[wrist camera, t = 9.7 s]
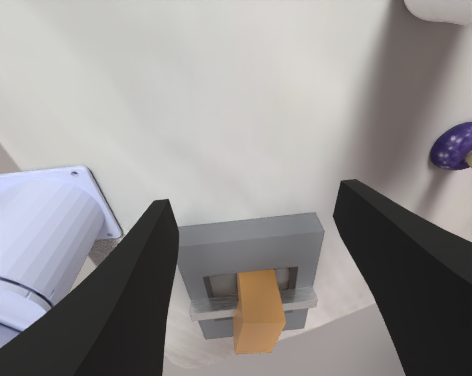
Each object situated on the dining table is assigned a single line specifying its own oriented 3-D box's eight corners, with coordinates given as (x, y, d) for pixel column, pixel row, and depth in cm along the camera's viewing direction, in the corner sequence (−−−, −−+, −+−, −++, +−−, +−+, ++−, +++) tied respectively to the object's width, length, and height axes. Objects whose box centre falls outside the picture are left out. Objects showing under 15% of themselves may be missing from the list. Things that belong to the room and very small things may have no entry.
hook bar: (193, 307, 28) (192, 321, 27) (190, 300, 27) (189, 314, 26) (311, 293, 28) (315, 307, 27) (312, 286, 28) (317, 299, 26)
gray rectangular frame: (205, 320, 36) (205, 339, 34) (174, 227, 24) (171, 247, 22) (299, 310, 36) (304, 328, 34) (315, 212, 24) (324, 231, 22)
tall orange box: (231, 299, 31) (234, 353, 26) (238, 266, 27) (243, 323, 22) (262, 299, 31) (270, 352, 26) (273, 266, 27) (286, 322, 22)
